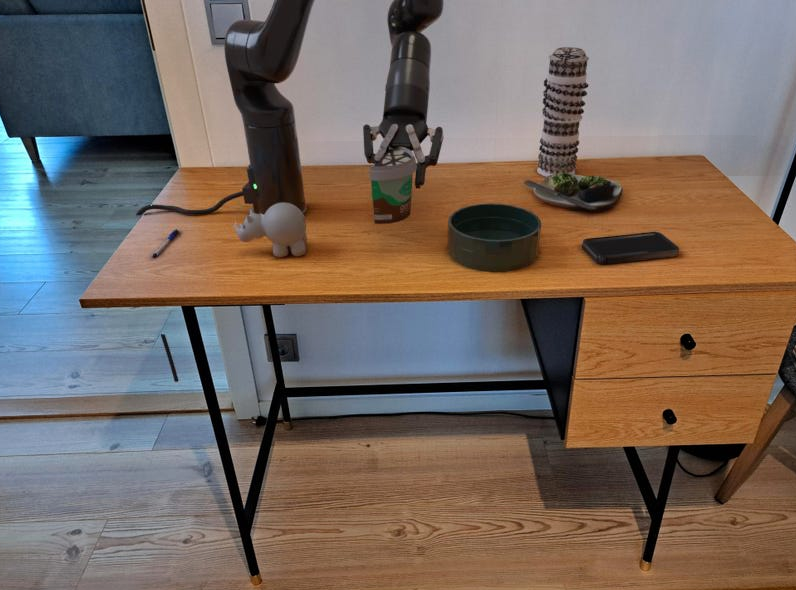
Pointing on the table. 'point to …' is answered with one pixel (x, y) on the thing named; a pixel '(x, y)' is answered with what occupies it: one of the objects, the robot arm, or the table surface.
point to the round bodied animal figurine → (277, 229)
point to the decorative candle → (562, 111)
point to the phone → (629, 247)
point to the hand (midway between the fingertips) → (398, 185)
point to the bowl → (493, 237)
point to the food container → (392, 185)
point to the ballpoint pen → (166, 242)
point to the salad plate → (577, 192)
